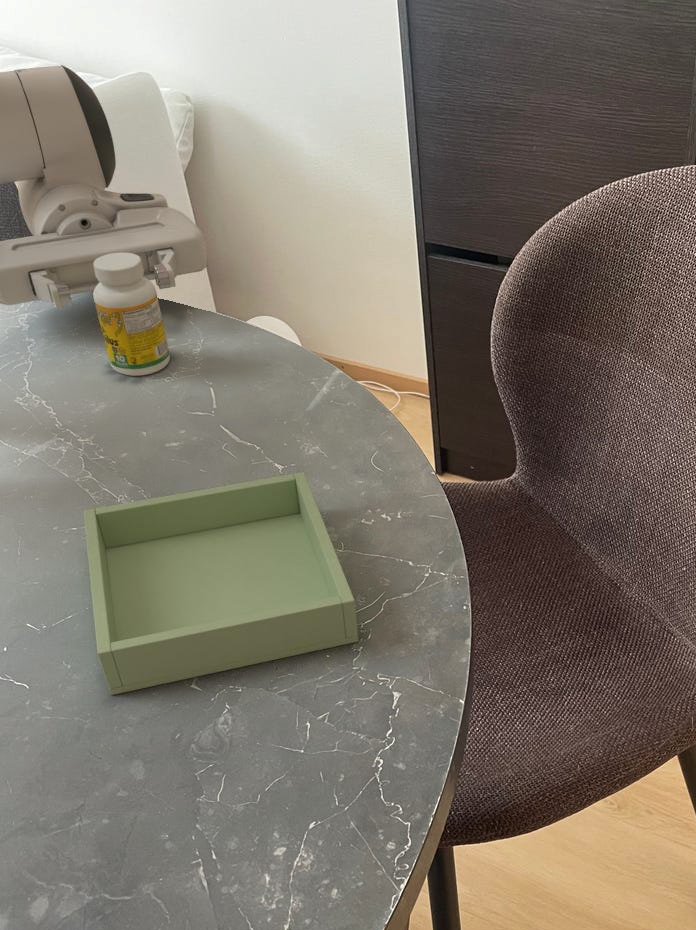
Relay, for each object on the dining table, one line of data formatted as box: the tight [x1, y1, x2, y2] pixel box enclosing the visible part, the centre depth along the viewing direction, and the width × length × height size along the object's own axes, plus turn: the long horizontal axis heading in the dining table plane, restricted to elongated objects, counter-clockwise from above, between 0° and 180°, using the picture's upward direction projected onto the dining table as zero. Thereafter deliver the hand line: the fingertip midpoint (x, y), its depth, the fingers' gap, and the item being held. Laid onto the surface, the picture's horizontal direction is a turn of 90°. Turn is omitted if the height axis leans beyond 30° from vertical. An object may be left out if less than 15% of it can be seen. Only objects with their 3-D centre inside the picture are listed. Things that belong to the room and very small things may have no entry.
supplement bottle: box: [92, 253, 171, 377], centre depth 93 cm, size 5×5×10 cm
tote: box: [82, 471, 359, 696], centre depth 70 cm, size 16×16×4 cm
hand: (115, 289), depth 95 cm, fingers open, 8 cm apart
